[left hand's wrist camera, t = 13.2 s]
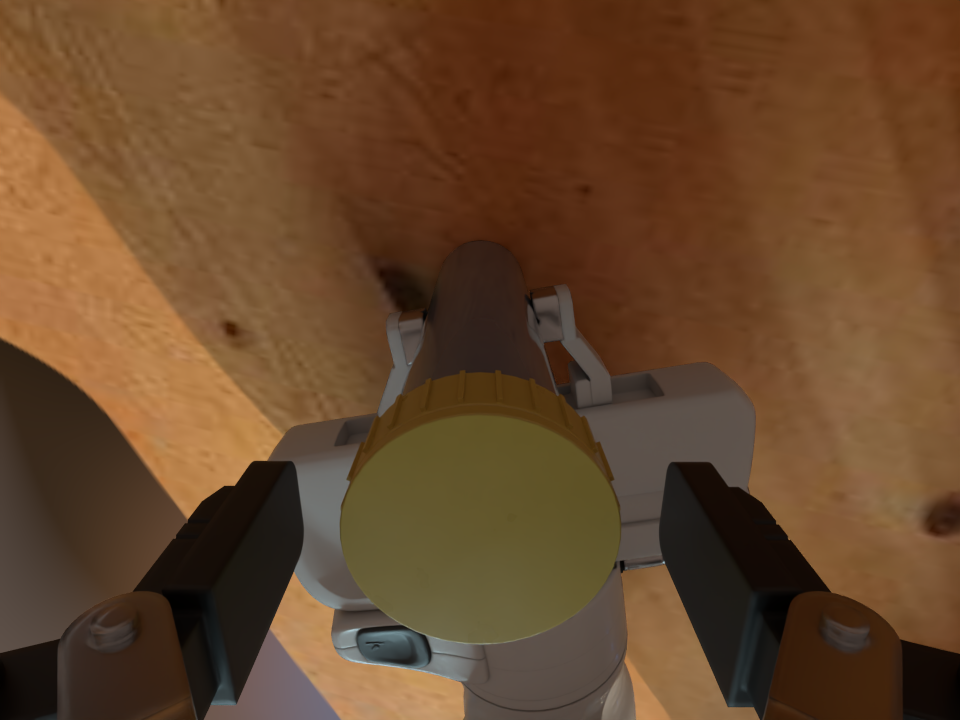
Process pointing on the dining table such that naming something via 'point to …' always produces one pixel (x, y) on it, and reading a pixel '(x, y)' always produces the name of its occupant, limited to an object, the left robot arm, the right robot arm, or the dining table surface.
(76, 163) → the dining table surface
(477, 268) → the grey canister
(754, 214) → the dining table surface
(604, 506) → the lid
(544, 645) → the right robot arm
